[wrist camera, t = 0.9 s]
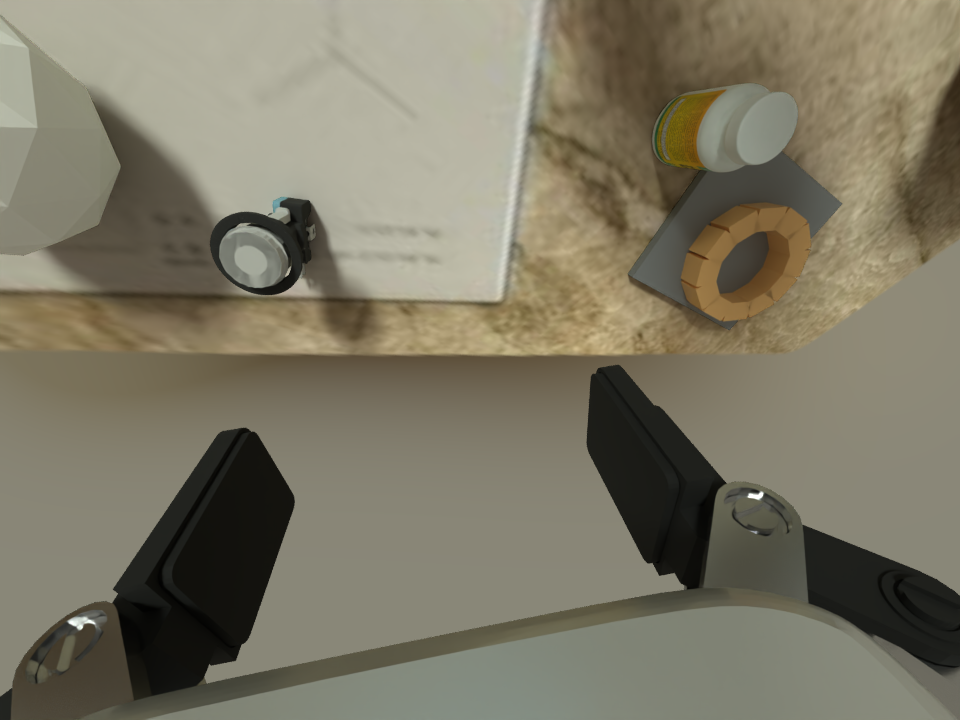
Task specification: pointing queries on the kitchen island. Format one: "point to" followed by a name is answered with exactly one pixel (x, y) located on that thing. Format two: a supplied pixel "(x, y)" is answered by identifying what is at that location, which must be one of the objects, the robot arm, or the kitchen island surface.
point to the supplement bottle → (724, 127)
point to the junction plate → (714, 198)
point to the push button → (264, 247)
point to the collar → (774, 277)
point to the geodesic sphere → (47, 150)
